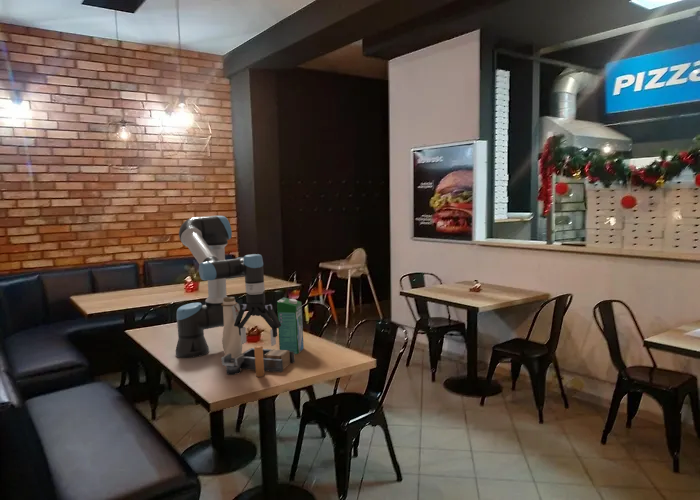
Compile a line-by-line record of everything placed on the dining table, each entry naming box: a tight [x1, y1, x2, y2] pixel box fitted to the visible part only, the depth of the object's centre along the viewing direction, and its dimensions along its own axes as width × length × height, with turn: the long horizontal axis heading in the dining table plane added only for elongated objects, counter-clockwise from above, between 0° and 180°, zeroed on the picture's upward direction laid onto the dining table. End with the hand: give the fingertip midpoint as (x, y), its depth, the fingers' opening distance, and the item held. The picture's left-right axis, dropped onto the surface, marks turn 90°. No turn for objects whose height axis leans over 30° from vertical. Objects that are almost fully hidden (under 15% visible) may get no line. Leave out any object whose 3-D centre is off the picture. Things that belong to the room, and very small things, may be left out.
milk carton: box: [276, 297, 305, 355], centre depth 244 cm, size 9×9×25 cm
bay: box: [237, 347, 296, 373], centre depth 226 cm, size 21×13×5 cm, turn 71°
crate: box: [264, 348, 291, 370], centre depth 224 cm, size 8×8×6 cm
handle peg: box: [253, 345, 265, 378], centre depth 213 cm, size 3×3×12 cm
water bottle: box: [221, 296, 243, 358], centre depth 236 cm, size 10×9×28 cm
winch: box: [221, 353, 244, 376], centre depth 219 cm, size 7×8×7 cm
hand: (258, 344), depth 212 cm, fingers open, 13 cm apart
